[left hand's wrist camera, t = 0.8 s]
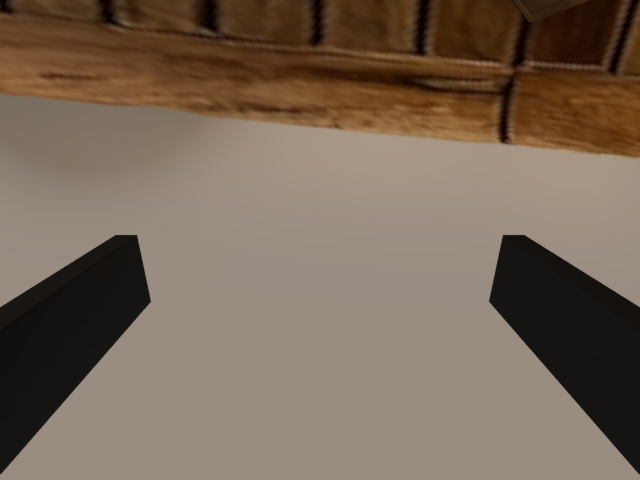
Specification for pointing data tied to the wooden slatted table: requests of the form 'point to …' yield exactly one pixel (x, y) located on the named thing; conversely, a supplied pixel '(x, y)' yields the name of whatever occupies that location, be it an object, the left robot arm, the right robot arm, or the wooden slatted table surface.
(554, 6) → the chest
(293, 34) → the wooden slatted table surface
